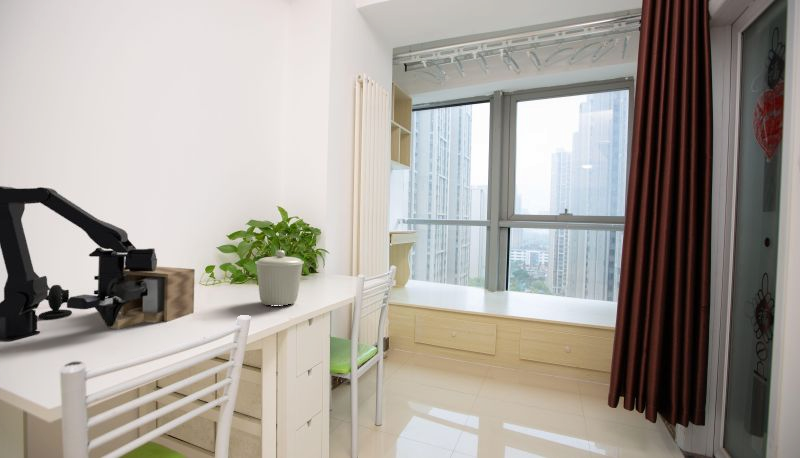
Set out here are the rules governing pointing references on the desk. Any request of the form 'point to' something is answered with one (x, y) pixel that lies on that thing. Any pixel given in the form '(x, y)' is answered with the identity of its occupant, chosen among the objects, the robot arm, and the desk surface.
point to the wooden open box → (168, 291)
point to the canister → (279, 279)
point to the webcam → (56, 303)
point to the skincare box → (154, 295)
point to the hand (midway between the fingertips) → (110, 326)
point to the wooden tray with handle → (137, 318)
